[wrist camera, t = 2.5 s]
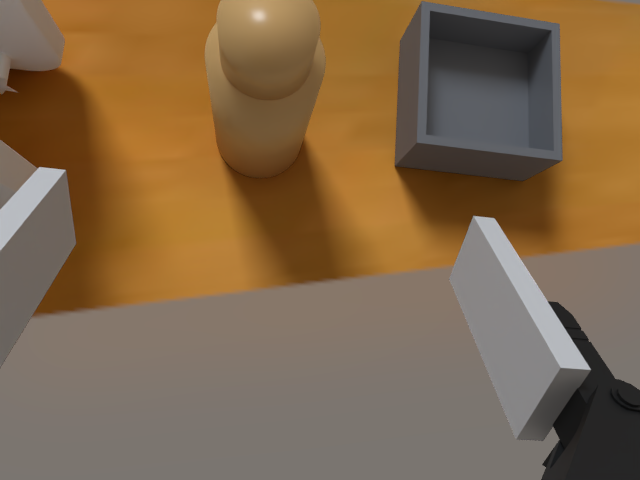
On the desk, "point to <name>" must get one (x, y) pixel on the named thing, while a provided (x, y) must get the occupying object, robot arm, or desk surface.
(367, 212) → the desk surface
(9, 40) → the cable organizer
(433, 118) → the grey open square box
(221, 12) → the beige rounded figurine
